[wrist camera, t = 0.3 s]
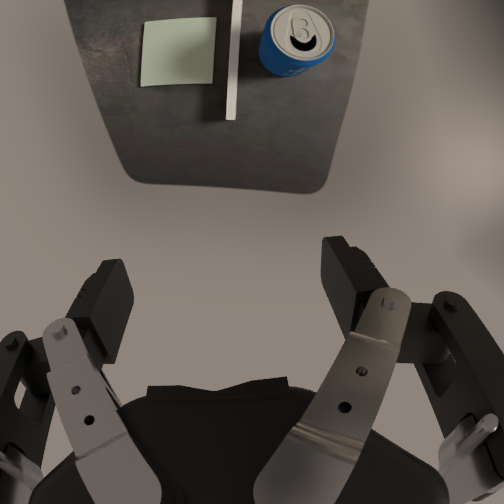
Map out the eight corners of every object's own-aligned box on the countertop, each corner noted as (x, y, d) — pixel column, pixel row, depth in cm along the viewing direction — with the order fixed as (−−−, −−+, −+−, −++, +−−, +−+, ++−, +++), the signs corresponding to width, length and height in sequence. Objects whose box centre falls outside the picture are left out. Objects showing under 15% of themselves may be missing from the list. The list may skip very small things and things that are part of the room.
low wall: (235, -11, 27) (234, -21, 24) (243, -10, 27) (243, -20, 24) (227, 118, 35) (225, 119, 32) (235, 118, 35) (234, 119, 32)
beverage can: (261, 79, 33) (270, 67, 22) (254, 32, 30) (260, 2, 19) (313, 76, 33) (343, 64, 22) (306, 29, 30) (333, 1, 19)
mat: (146, 23, 28) (144, 22, 28) (216, 18, 29) (216, 17, 28) (142, 86, 33) (140, 86, 32) (212, 83, 33) (212, 83, 32)
